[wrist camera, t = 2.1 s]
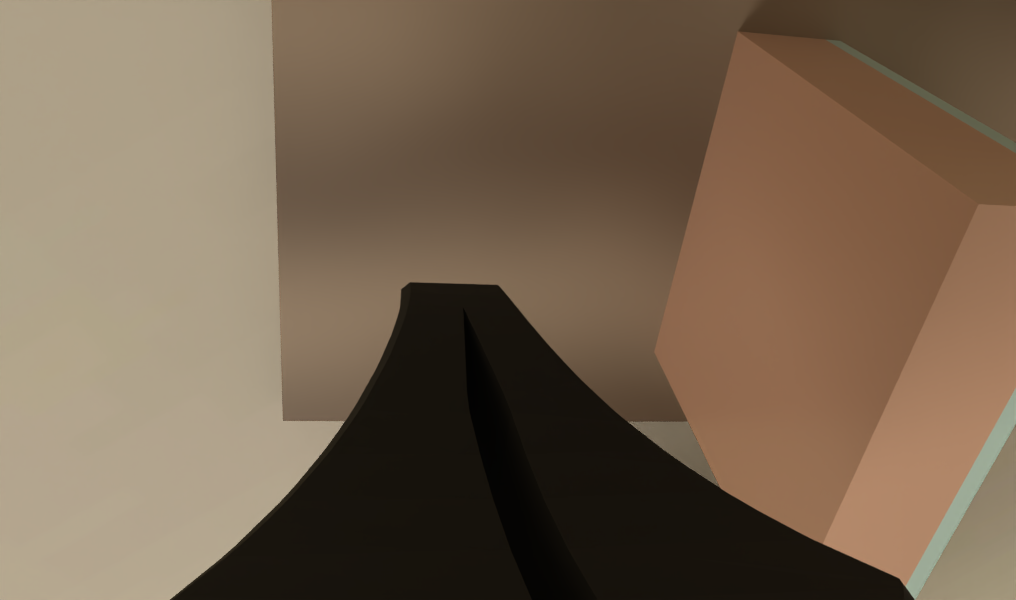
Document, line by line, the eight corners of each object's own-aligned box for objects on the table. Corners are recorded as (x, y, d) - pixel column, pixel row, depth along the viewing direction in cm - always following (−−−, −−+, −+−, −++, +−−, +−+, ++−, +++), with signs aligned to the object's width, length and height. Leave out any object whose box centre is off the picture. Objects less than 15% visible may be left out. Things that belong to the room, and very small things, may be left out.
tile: (738, 353, 19) (905, 618, 13) (653, 351, 18) (785, 622, 13) (840, 40, 15) (1136, 213, 9) (737, 31, 15) (979, 203, 9)
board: (1256, 395, 24) (1330, 447, 22) (287, 386, 19) (278, 452, 17) (1552, -1, 18) (1686, 25, 16) (275, -159, 13) (259, -148, 11)
